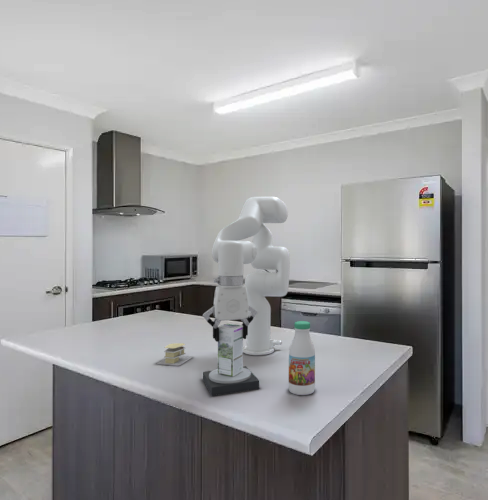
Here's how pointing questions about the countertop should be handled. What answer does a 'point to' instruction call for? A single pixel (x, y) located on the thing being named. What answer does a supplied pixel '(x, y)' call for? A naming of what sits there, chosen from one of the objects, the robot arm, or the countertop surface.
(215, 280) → the robot arm
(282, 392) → the countertop surface
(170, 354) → the stacked layers on plate
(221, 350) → the syrup box
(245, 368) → the scale
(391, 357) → the countertop surface
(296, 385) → the milk bottle
